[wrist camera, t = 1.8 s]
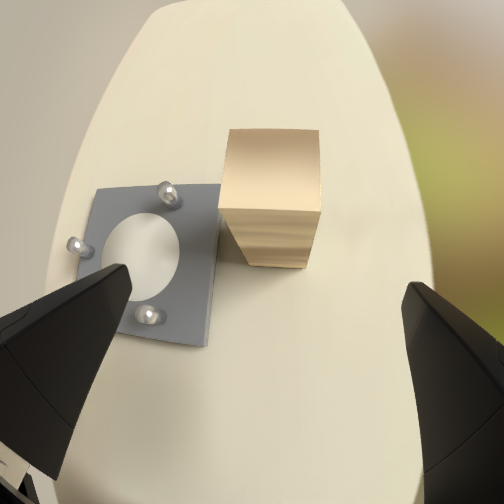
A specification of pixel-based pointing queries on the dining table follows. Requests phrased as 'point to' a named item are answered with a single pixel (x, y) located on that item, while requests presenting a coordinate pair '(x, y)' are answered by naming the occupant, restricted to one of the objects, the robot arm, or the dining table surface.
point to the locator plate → (157, 255)
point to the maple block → (272, 194)
